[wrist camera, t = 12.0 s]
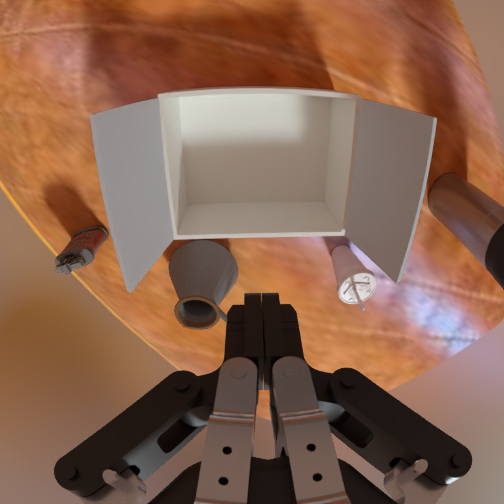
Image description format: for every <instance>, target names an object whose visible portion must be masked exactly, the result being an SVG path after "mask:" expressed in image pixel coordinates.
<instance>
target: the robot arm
mask: <svg viewBox="0 0 504 504" xmlns="http://www.w3.org/2000/svg"><path fill="white" fill-rule="evenodd" d="M428 202H429V209H430V211H431V213H432V214H433V215H434V216H435V217H436V218H437V219H438V220H439V221H440V222H441V223H442V224H443V225H444V226H445V227H446V228H447V229H448V230H450V231H451V232H452V233H453V234H454V235H455V236H456V237H457V238H458V239H459V240H460V241H461V242H462V243H463V244H464V245H465V246H466V247H467V248H468V249H469V250H470V252H471V253H472V254H473V255H474V256H475V257H476V258H477V259H478V260H479V261H480V262H481V263H482V264H483V265H484V266H485V268H486V269H487V270H488V271H489V272H490V273H491V274H492V276H493V277H494V278H495V280H496V281H497V282H498V283H499V284H500V286H501V287H502V288H503V289H504V207H503V206H502V205H500V204H499V203H498V202H496V201H495V200H494V199H492V198H491V197H490V196H488V195H487V194H485V193H484V192H483V191H481V190H480V189H478V188H477V187H475V186H474V185H472V184H471V183H470V182H468V181H467V180H465V179H463V178H462V177H460V176H459V175H457V174H455V173H447V174H445V175H443V176H441V177H440V178H439V179H438V180H437V181H436V182H435V183H434V185H433V186H432V188H431V191H430V194H429V200H428ZM263 378H264V390H269V393H270V402H269V407H270V414H271V421H272V428H273V435H274V442H275V458H274V459H270V460H266V459H261V458H256V457H253V452H254V435H255V422H256V408H257V404H258V395H259V390H262V388H263ZM207 424H208V426H207ZM206 426H207V432H206V438H205V444H204V450H203V457H202V461H201V462H198V463H196V464H193V465H192V466H190V467H188V468H187V469H186V470H184V471H183V472H182V473H181V474H180V475H179V476H178V477H176V478H175V479H174V480H173V481H172V482H171V483H170V484H169V485H168V486H167V487H166V488H165V489H164V490H163V491H162V492H160V493H159V494H158V495H157V496H156V497H155V498H154V499H153V500H151V501H150V502H149V503H148V504H435V503H436V502H437V500H438V499H439V498H440V496H441V495H442V493H443V492H444V490H445V489H446V487H447V486H448V485H449V484H450V483H452V482H454V481H455V480H457V479H459V478H460V477H462V476H464V475H465V474H466V473H467V472H468V471H469V469H470V468H471V465H472V456H471V453H470V451H469V450H468V449H467V448H466V447H465V446H463V445H462V444H460V443H459V442H458V441H456V440H455V439H453V438H452V437H450V436H449V435H447V434H446V433H444V432H443V431H441V430H440V429H438V428H437V427H436V426H434V425H433V424H431V423H430V422H428V421H427V420H425V419H424V418H422V417H421V416H420V415H418V414H417V413H415V412H414V411H413V410H411V409H410V408H408V407H407V406H406V405H404V404H403V403H401V402H400V401H399V400H397V399H396V398H394V397H393V396H391V395H390V394H389V393H387V392H386V391H385V390H383V389H382V388H380V387H379V386H378V385H376V384H375V383H374V382H372V381H371V380H369V379H368V378H367V377H365V376H364V375H363V374H361V373H360V372H358V371H357V370H355V369H352V368H341V369H338V370H336V371H335V372H334V373H333V374H332V373H327V372H322V371H318V370H316V369H314V368H312V367H311V366H309V365H308V364H307V362H306V361H305V359H304V355H303V348H302V342H301V336H300V330H299V325H298V319H297V313H296V311H295V310H294V308H293V307H292V306H291V304H280V301H279V294H278V293H262V307H261V293H245V297H244V305H232V307H231V308H230V310H229V311H228V313H227V325H226V340H225V354H224V361H223V363H222V365H221V366H220V367H219V368H218V369H217V370H216V371H214V372H212V373H209V374H205V375H201V376H196V375H195V374H194V373H192V372H190V371H184V370H183V371H176V372H174V373H172V374H170V375H169V376H168V377H167V378H165V379H164V380H163V381H161V382H160V383H159V384H158V385H157V386H155V387H154V388H153V389H151V390H150V391H149V392H148V393H146V394H145V395H144V396H143V397H141V398H140V399H139V400H137V401H136V402H135V403H134V404H133V405H131V406H130V407H128V408H127V409H126V410H125V411H123V412H122V413H121V414H119V415H118V416H117V417H116V418H114V419H113V420H112V421H110V422H109V423H108V424H106V425H105V426H104V427H102V428H101V429H100V430H98V431H97V432H96V433H94V434H93V435H92V436H90V437H89V438H88V439H86V440H85V441H84V442H82V443H81V444H80V445H78V446H77V447H75V448H74V449H73V450H71V451H70V452H69V453H67V454H66V455H64V456H63V457H61V458H60V459H59V460H58V461H57V463H56V465H55V468H54V475H55V478H56V480H57V482H58V483H59V484H60V485H61V486H62V487H63V488H65V489H67V490H69V491H71V492H72V493H73V494H75V495H77V496H78V497H80V498H81V500H82V501H83V502H84V504H140V503H141V502H142V500H143V499H144V498H145V496H146V485H145V483H144V482H143V481H144V480H145V479H147V478H148V477H149V476H150V475H152V474H153V473H154V472H155V471H156V470H158V469H159V468H160V467H161V466H162V465H163V464H165V463H166V461H168V460H169V459H170V458H172V457H173V456H174V455H175V454H176V453H177V452H178V451H179V450H181V449H182V448H183V447H184V446H185V445H186V444H187V443H188V442H190V440H192V439H193V438H194V437H195V436H196V435H197V434H198V433H199V432H200V431H201V430H202V429H203V428H205V427H206ZM331 433H333V434H334V435H335V436H336V437H337V438H339V439H340V440H341V441H342V442H343V443H345V444H346V445H347V446H348V447H350V448H351V449H352V450H354V451H355V452H356V453H357V454H358V455H360V456H361V457H363V458H364V459H365V460H366V461H367V462H369V463H370V464H371V465H373V466H374V467H375V468H377V469H378V470H379V471H381V472H382V473H384V474H385V477H384V487H385V489H386V491H387V492H388V493H389V494H390V495H391V496H392V499H391V498H390V497H389V496H388V495H386V494H385V493H384V492H383V491H381V490H380V489H379V488H378V487H376V486H375V485H374V484H373V483H371V482H370V481H369V480H368V479H366V478H365V477H364V476H363V475H362V474H361V473H359V472H358V471H357V470H356V469H355V468H354V467H352V466H351V465H350V464H348V463H347V462H345V461H343V460H341V459H338V458H337V455H336V451H335V447H334V444H333V440H332V436H331Z"/></svg>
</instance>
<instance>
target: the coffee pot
mask: <svg viewBox="0 0 504 504" xmlns="http://www.w3.org/2000/svg"><path fill="white" fill-rule="evenodd" d="M169 274H170V277H171V280H172V283H173V285H174V288H175V290H176V293H177V295H178V298H179V300H180V301H178V302H177V304H176V306H175V310H174V311H175V316H176V318H177V320H178V321H179V322H180V324H181V325H182V326H183V327H185V328H190V329H199V330H202V329H208V328H210V327H212V326H214V325H215V324H216V323H217V322H218V321H219V319H220V317H221V318H222V319H223V320H224V321H225V322H226V323H227V315H226V314H225V313H224V312H223V311H222V310H221V309H220V308H219V307H218V305H219V304H220V302H221V301H222V300H223V299H224V297H225V296H226V295H227V293H228V292H229V291H230V289H231V288H232V287H233V286H234V284H235V282H236V280H237V277H238V266H237V263H236V260H235V258H234V257H233V255H232V254H231V253H230V252H229V251H228V250H227V249H226V248H225V247H224V246H222V245H220V244H218V243H216V242H213V241H209V240H195V241H190V242H188V243H186V244H184V245H182V246H180V247H179V248H178V249H177V250H176V251H175V252H174V253H173V255H172V257H171V259H170V262H169Z"/></svg>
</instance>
